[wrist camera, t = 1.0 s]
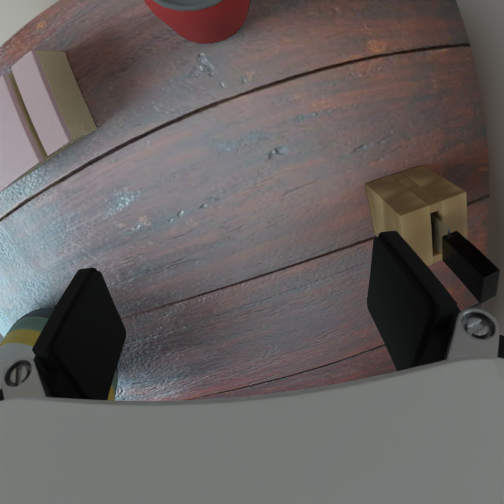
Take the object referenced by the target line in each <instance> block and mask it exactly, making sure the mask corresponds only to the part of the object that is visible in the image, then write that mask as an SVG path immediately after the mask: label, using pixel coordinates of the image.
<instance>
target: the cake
mask: <svg viewBox="0 0 504 504" xmlns="http://www.w3.org/2000/svg"><path fill="white" fill-rule="evenodd" d="M69 146H70V145H69ZM69 146H67V147H65V148H63V149H61V150H59V151H57V152H55V153H53V154H51V155H49V156H48V155H47V153H46V151H45V149H44V147H43V145H42V143H41V141H40V138H39V136H38V134H37V132H36V129H35V127H34V125H33V123H32V120H31V118H30V116H29V113H28V111H27V108H26V106H25V103H24V101H23V98H22V96H21V93H20V91H19V88H18V86H17V83H16V80H15V77H14V75H13V73H11V74H3V75H2V76H1V77H0V192H1V191H3V190H4V189H6V188H7V187H9V186H10V185H12V184H14V183H15V182H17V181H18V180H20V179H21V178H23V177H25V176H26V175H28V174H29V173H31V172H32V171H34V170H35V169H37V168H38V167H39V166H41V165H42V164H44V163H45V162H47V161H48V160H50V159H51V158H53V157H54V156H56V155H57V154H59V153H60V152H62V151H63V150H65V149H66V148H68V147H69Z"/></svg>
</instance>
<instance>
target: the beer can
mask: <svg viewBox="0 0 504 504" xmlns="http://www.w3.org/2000/svg"><path fill="white" fill-rule="evenodd" d="M145 3H146V4H147V5H148V7H149V8H150V9H151V10H152V12H153V13H154V14H155V15H156V16H157V17H159V18H160V19H161V20H162V21H164V22H165V23H166V24H167V25H169V26H170V27H171V28H172V29H173V30H175V31H176V32H177V33H178V34H179V35H181V36H183V37H184V38H186V39H187V40H189V41H193V42H196V43H215V42H219V41H222V40H225V39H227V38H228V37H230V36H232V35H233V34H235V33H236V32H237V31H238V30H239V28H240V27H241V26H242V25H243V23H244V21H245V19H246V16H247V13H248V8H249V3H250V0H145Z"/></svg>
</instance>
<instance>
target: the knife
mask: <svg viewBox="0 0 504 504" xmlns="http://www.w3.org/2000/svg"><path fill="white" fill-rule="evenodd" d="M430 217H431V231H432V245H433V246H434V247H435V248H436V249H437V250H438V251H439V252H440V253H441V254H442V260H443V261H444V262H445V264H446V265H447V266H448V267H449V268H450V269H451V270H452V271H453V272H454V273H455V275H456V276H457V277H458V278H459V279H460V280H461V281H462V282H463V284H464V285H465V286H466V287H467V288H468V289H469V291H470V292H471V293H472V294H473V295H474V296H475V298H476V299H477V300H478V301H479V302H480V303H483V302H485V301H487V300H489V299H491V298H492V297H495V296H496V293H497V287H498V280H499V274H500V270H499V269H498V268H497V267H496V266H495V265H494V264H493V263H492V262H491V261H490V260H489V259H487V257H485V256H484V255H483V254H482V253H481V252H480V251H479V250H478V249H477V248H476V247H475V246H474V245H473V244H471V243H470V242H469V241H468V240H467V239H466V238H465V237H464V236H462V235H461V234H460V233H459V232H458V231H454V232H452V233H450V228H449V227H448V226H447V225H446V224H445V223H444V222H442V221H441V220H440V219H439V218H438V217H437V216H435V215H434V214H433V213H430Z"/></svg>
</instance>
